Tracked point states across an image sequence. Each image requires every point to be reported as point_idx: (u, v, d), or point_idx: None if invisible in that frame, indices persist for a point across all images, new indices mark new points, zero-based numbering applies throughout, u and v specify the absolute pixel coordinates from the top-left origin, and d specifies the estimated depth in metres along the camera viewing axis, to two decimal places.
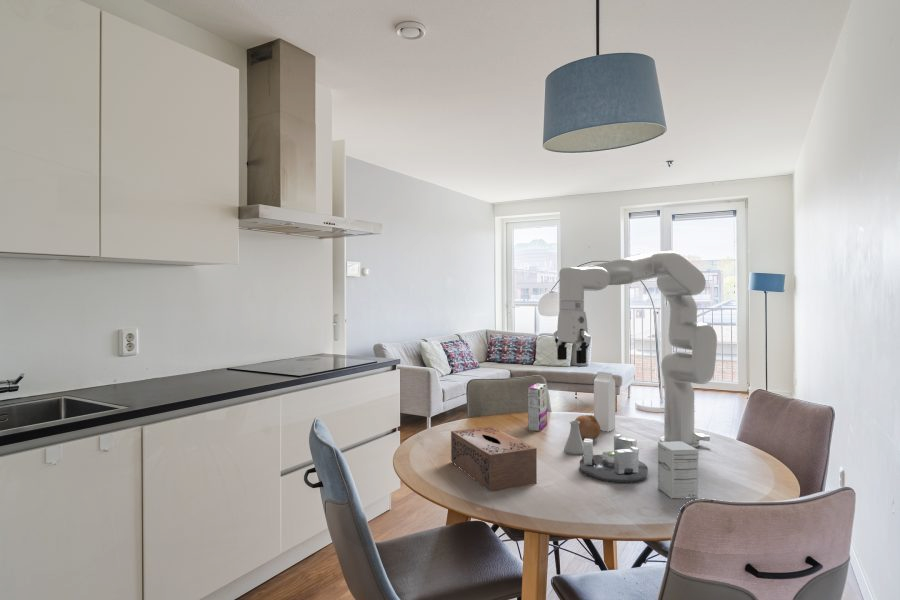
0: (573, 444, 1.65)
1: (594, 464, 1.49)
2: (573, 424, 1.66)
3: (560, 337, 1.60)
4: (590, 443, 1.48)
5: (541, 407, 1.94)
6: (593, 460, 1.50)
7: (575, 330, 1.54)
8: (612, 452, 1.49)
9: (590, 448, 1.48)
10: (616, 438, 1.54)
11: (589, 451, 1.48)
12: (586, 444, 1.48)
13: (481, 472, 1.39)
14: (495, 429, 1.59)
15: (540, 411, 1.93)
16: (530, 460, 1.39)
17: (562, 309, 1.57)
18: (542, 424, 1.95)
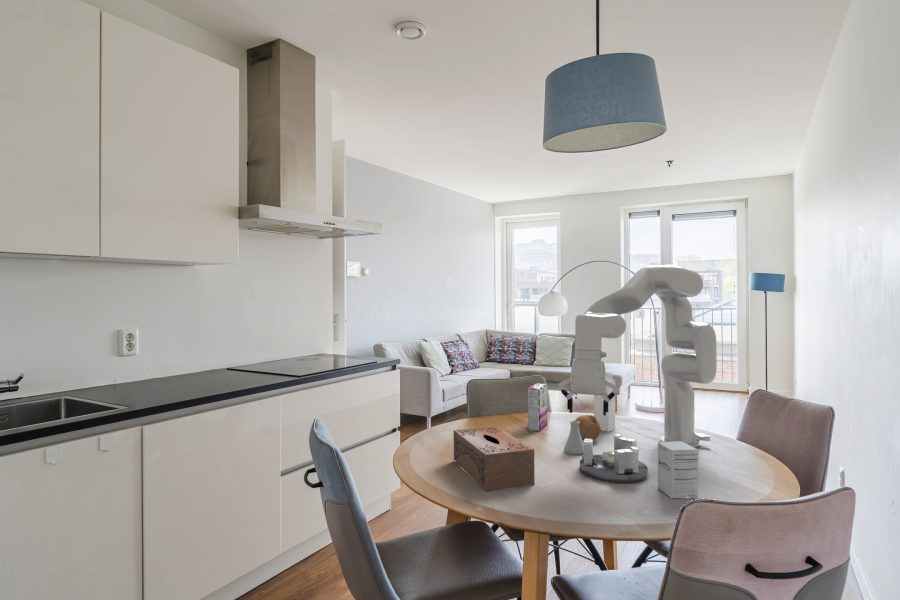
0: (573, 444, 1.65)
1: (594, 464, 1.49)
2: (573, 424, 1.66)
3: (577, 388, 1.49)
4: (590, 443, 1.48)
5: (541, 407, 1.94)
6: (593, 460, 1.50)
7: (602, 380, 1.47)
8: (612, 452, 1.49)
9: (590, 448, 1.48)
10: (616, 438, 1.54)
11: (589, 451, 1.48)
12: (586, 444, 1.48)
13: (478, 472, 1.39)
14: (498, 429, 1.59)
15: (540, 411, 1.93)
16: (528, 460, 1.38)
17: (588, 359, 1.47)
18: (542, 424, 1.95)
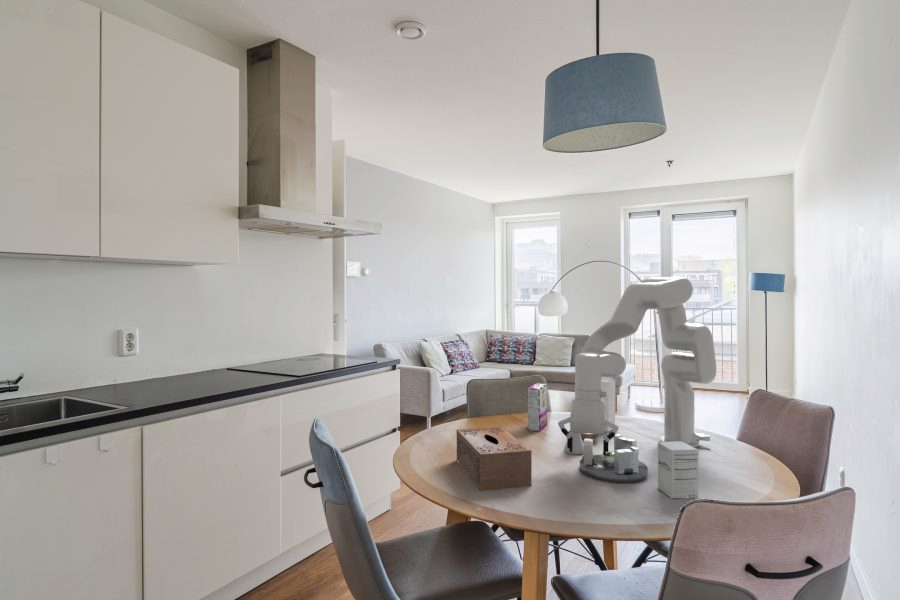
0: (573, 444, 1.65)
1: (594, 464, 1.49)
2: None
3: (577, 428, 1.50)
4: (590, 443, 1.48)
5: (541, 407, 1.94)
6: (593, 460, 1.50)
7: (602, 420, 1.48)
8: (612, 452, 1.49)
9: (590, 448, 1.48)
10: (616, 438, 1.54)
11: (589, 451, 1.48)
12: (586, 444, 1.48)
13: (475, 471, 1.39)
14: (501, 429, 1.59)
15: (540, 411, 1.93)
16: (525, 461, 1.37)
17: (588, 400, 1.47)
18: (542, 424, 1.95)
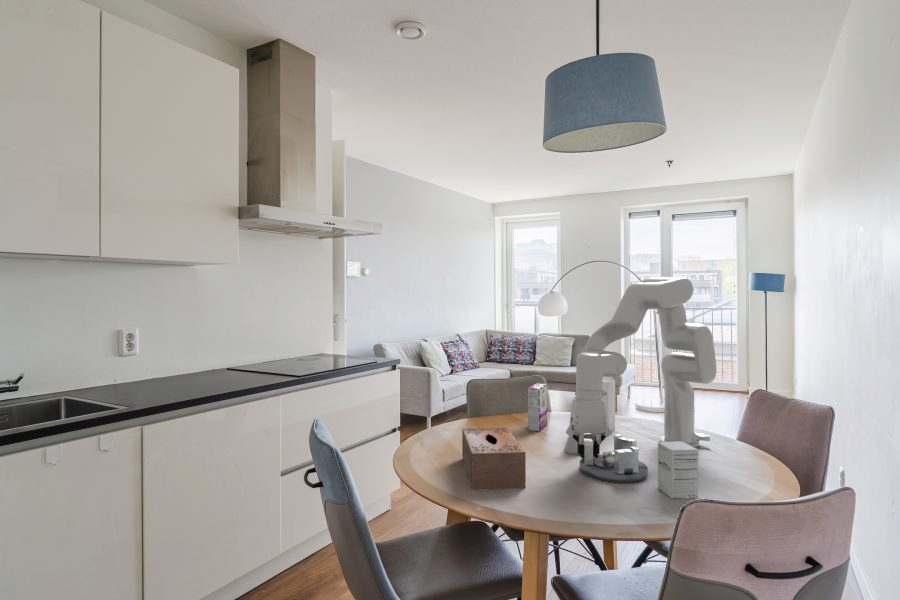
0: (573, 444, 1.65)
1: (594, 464, 1.49)
2: None
3: (581, 429, 1.48)
4: (591, 443, 1.48)
5: (541, 407, 1.94)
6: (593, 460, 1.50)
7: (605, 419, 1.48)
8: (612, 452, 1.49)
9: (591, 448, 1.48)
10: (616, 438, 1.54)
11: (590, 451, 1.48)
12: (587, 444, 1.48)
13: (470, 470, 1.40)
14: (506, 430, 1.58)
15: (540, 411, 1.93)
16: (518, 463, 1.36)
17: (594, 400, 1.46)
18: (542, 424, 1.95)
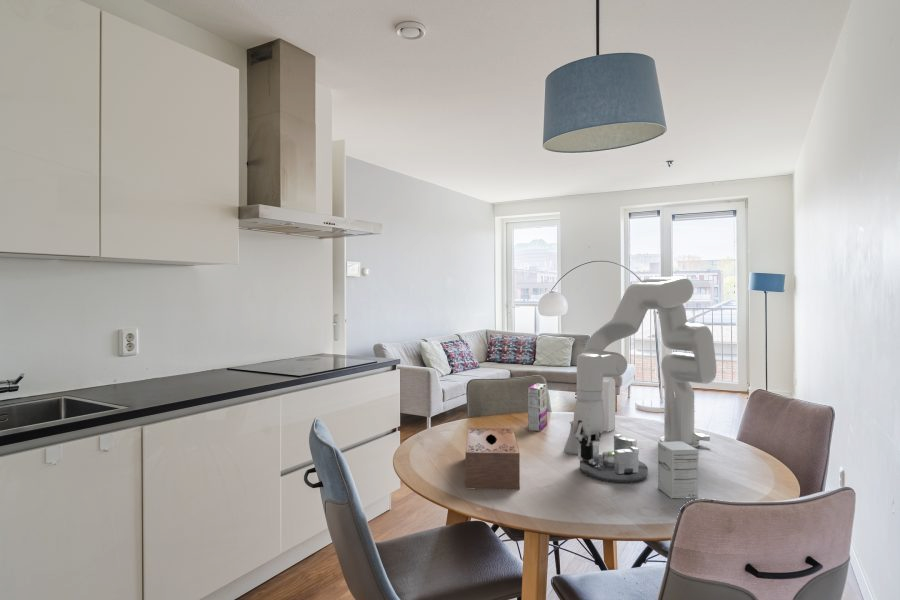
0: (573, 444, 1.65)
1: None
2: None
3: (590, 431, 1.47)
4: (597, 442, 1.49)
5: (541, 407, 1.94)
6: None
7: (603, 417, 1.52)
8: (612, 452, 1.49)
9: (597, 447, 1.49)
10: (616, 438, 1.54)
11: (597, 450, 1.49)
12: (594, 444, 1.48)
13: None
14: (510, 431, 1.57)
15: (540, 411, 1.93)
16: (512, 464, 1.35)
17: (601, 399, 1.48)
18: (542, 424, 1.95)
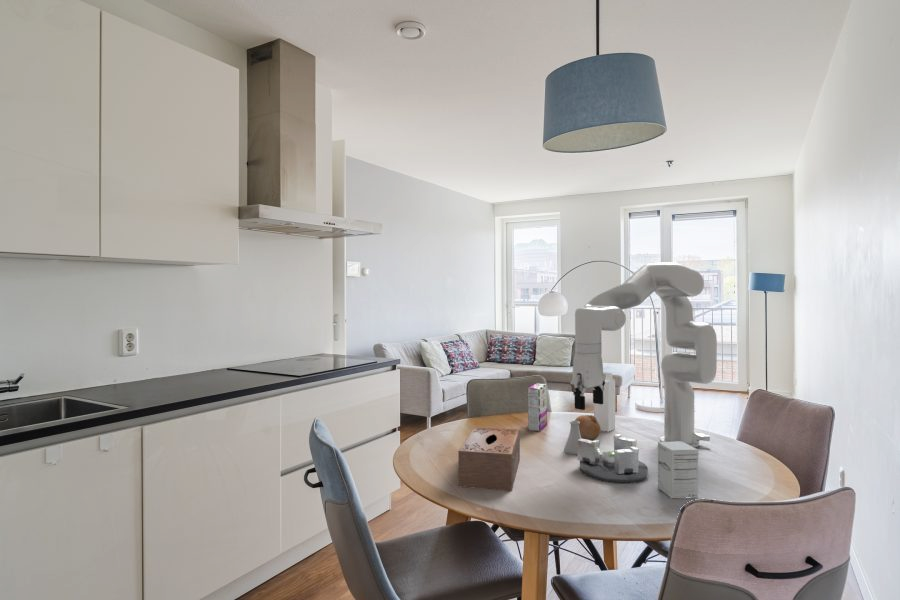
0: (573, 444, 1.65)
1: None
2: (573, 424, 1.66)
3: (589, 383, 1.47)
4: (598, 442, 1.49)
5: (541, 407, 1.94)
6: None
7: (602, 371, 1.52)
8: (612, 452, 1.49)
9: (598, 447, 1.49)
10: (616, 438, 1.54)
11: (598, 450, 1.49)
12: (596, 443, 1.48)
13: None
14: (515, 432, 1.56)
15: (540, 411, 1.93)
16: (504, 465, 1.35)
17: (600, 352, 1.48)
18: (542, 424, 1.95)
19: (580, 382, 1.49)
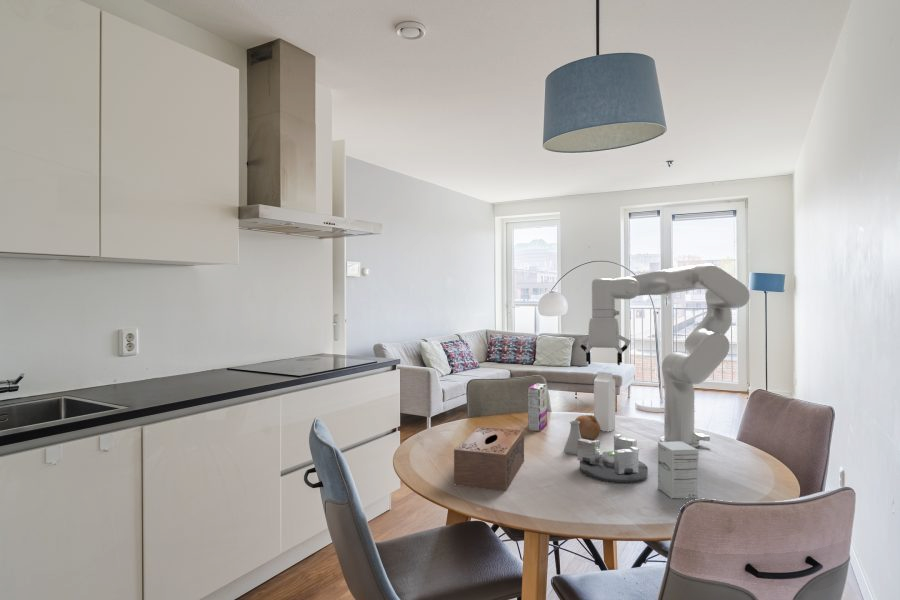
0: (573, 444, 1.65)
1: None
2: (573, 424, 1.66)
3: (595, 343, 1.73)
4: (598, 442, 1.49)
5: (541, 407, 1.94)
6: None
7: (616, 335, 1.71)
8: (612, 452, 1.49)
9: (598, 447, 1.49)
10: (616, 438, 1.54)
11: (598, 450, 1.49)
12: (596, 443, 1.48)
13: None
14: (518, 433, 1.55)
15: (540, 411, 1.93)
16: (498, 465, 1.35)
17: (604, 317, 1.70)
18: (542, 424, 1.95)
19: None
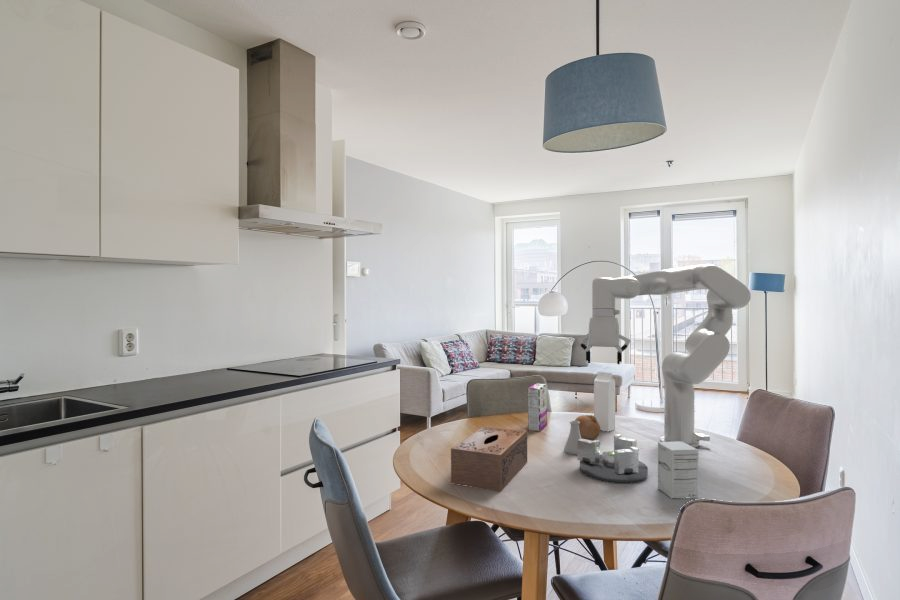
0: (573, 444, 1.65)
1: None
2: (573, 424, 1.66)
3: (594, 342, 1.73)
4: (598, 442, 1.49)
5: (541, 407, 1.94)
6: None
7: (616, 334, 1.71)
8: (612, 452, 1.49)
9: (598, 447, 1.49)
10: (616, 438, 1.54)
11: (598, 450, 1.49)
12: (596, 443, 1.48)
13: None
14: (520, 433, 1.54)
15: (540, 411, 1.93)
16: (494, 465, 1.35)
17: (604, 316, 1.70)
18: (542, 424, 1.95)
19: None
